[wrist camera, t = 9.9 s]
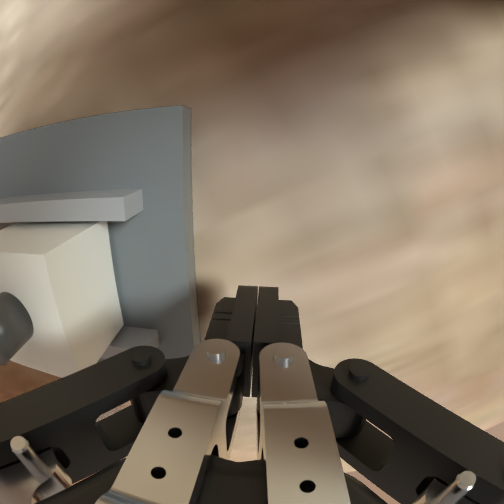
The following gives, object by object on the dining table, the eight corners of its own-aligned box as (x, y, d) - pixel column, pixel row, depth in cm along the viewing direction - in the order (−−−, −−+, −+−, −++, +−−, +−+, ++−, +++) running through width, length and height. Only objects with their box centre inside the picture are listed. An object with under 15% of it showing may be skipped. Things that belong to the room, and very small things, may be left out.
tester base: (-62, 162, 15) (-90, 170, 12) (191, 108, 14) (168, 100, 10) (-25, 326, 20) (-46, 344, 17) (204, 377, 19) (193, 417, 16)
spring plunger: (24, 219, 14) (-66, 265, 8) (106, 217, 14) (8, 277, 7) (44, 311, 16) (-22, 377, 10) (123, 324, 16) (62, 414, 9)
